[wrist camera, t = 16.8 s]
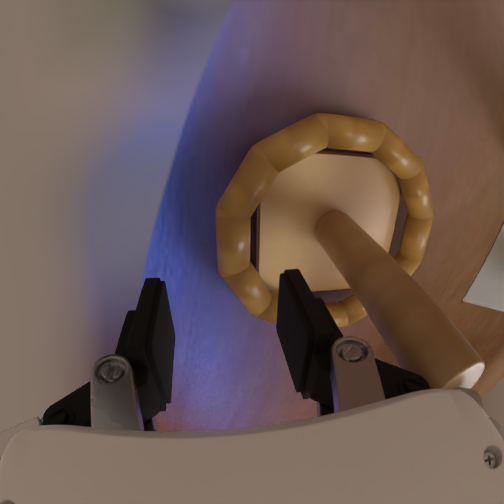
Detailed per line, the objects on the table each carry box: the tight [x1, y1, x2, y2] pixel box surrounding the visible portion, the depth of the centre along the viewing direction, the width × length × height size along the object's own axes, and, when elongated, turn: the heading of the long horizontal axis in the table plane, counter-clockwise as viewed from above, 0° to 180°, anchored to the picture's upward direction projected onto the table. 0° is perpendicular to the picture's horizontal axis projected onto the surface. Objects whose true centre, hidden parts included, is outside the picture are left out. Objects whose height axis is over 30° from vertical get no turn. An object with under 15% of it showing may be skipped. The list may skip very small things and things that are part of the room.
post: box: [256, 151, 485, 389], centre depth 12 cm, size 9×9×13 cm
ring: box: [215, 113, 434, 328], centre depth 16 cm, size 14×14×2 cm
